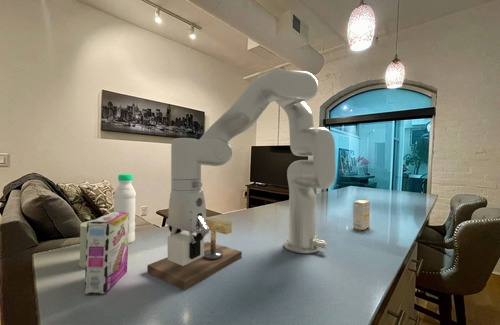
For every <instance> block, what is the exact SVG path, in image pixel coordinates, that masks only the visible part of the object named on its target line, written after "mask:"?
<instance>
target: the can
mask: <svg viewBox="0 0 500 325" xmlns="http://www.w3.org/2000/svg"><path fill="white" fill-rule="evenodd" d="M92 220H93V219H92ZM92 220H88V221H84V222H81V223H80V225H79V228H80V229H79V232H80V234H79V240H80V241H79V262H78V265H79V267H80V268H83V269H85V268H86V242H87V222H89V221H92Z"/></svg>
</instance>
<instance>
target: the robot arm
mask: <svg viewBox="0 0 500 325" xmlns="http://www.w3.org/2000/svg"><path fill="white" fill-rule="evenodd" d="M318 83H319V82H318V80H317V78H316V77H315V75H313V74H312V73H310V72H309V71H303V70H292V69H283V68H282V69H281V68H280V69H278V68H277V69H273V70H270V71H268V72H265V73H264V74H261V76H258V77H256V78H255V79H254V80H253V81H251V83H250V84H248V86H247V87H246V89H244V91H243V92H242V93H241V95H240V96H239V97H238V98H237V99H236V100H235V102H234V103H233V104H232V105H231V106H230V107H229V108H228V109H227V110H226V111H225V112H224V113H223V114H222V115H221V116H220V117H219V118H218V119H217V120H216V121H215V122H213V124H211V125H210V126H209V128H207V130H206V131H205V132H204V133H203V134H202V135H201V137H200V138H199V139H197V138H193V137H192V138H191V137H178V138H173V140H172V141H171V145H170V149H171V150H170V153H171V154H170V155H171V156H170V157H171V158H170V160H171V161H170V169H171V170H170V172H171V173H170V174H171V175H170V177H171V178H170V194H169V200H168V217H167V218H166V220H165V223H166V225H167V228H168V231H169V232H170V236H171V235H174V234H178V233H181V232H183V231H189V234H190V238H191V243H190V259H193V258H196V257H198V256H200V241H201V240H202V239H203V237H204V238H205V237H206V236H207V235H208V234H207V233H208V232H209V233H210V230H209V228H208V226H207V225H206V217H207V208H206V199H205V194H204V191H203V190H202V186H203V182H202V166H210V167H221V166H224V165H226V164H227V163H228V162H230V160H231V159H232V155H233V148H232V146H231V144H230V143H229V142H230V141H231V140H233V138H235V137H237V136H238V135H240V134H243V133H244V132H246V131H247V130H249V129H250V128H252V127H253V126H254V125H255V123H256V122H257V120H259V118H260V117H261V115H262V114H263V113H264V111H265V110H266V109H267V108H268V106H269V105H270V104H271V103H273V102H275V103H276V104H277V105H279V107H280V108H282V109H283V110H284V112H285V113H286V116H287V118H288V127H289V128H288V129H289V147H290V151H291V153H292V154H293V155H294V156H297V157H312V159H300V160H295V161H293V162H292V163H291V164H289V166H288V168H287V171H286V177H287V182H288V183H287V184H288V192H289V193H288V194H289V195H288V196H289V198H288V201H289V203H288V234H287V236H288V238H287V239H285V241H284V242H283V247H284V248H285V249H286V250H288V251H290V252H294V253H299V254H314V253H317V252H319V251H320V248H321V249H325V250H327V248H328V242H326V240H321V239H319V235H318V234H316V224H317V223H316V221H317V220H316V216H317V196H316V193H315V190H314V189H318V190H320V189H321V190H326V189H329V188H331V187H332V186H333V185H334V182H335V180H336V175H337V174H336V173H337V171H336V170H337V168H336V167H337V166H336V144H335V138H334V136H333V133H332V131H331V130H329V129H327V128H326V127H315V126H314V115H313V112H312V110H311V108H310V107H309V106H308V105H307V103H306V101H309V100H312V99H313V98H314V97H315V96H316V95H317V92H318V89H319V84H318ZM200 229H201V230H200ZM194 232H196V234H197V235H196V236H195V234H194ZM206 234H207V235H206Z"/></svg>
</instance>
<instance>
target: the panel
mask: <svg viewBox="0 0 500 325" xmlns="http://www.w3.org/2000/svg"><path fill="white" fill-rule="evenodd" d="M210 242H211V241H204V251H206V250H209V249H210ZM216 249H219V250H221V251H223V257H222V258H221V259H218V260H206V259H204V258H203V257H201V258H199V259H197V260H195V261H193V262H190V263H188V264H186V265H184V266H182V265H179V264H177V263H174V262H172V261H169V260H168V256H167V257H164V258H162V259H160V260H157V261H154V262H152V263H149V264H147V267H146V268H147V269H146V270H147V273H148V274H150V275H152V276H153V277H156V278H158V279H159V280H162V281H164V282H166V283H168V284H170V285H172V286H174V287H177V288H178V289H180V290H182V291H186V290H188V289H190V288H191V287H194V286H195V285H196V284H199V283H200V282H202V281H204V280H206V279H207V278H209V277H211V276H212V275H213V276H214V274H216V273H218V272H221V270H223V269H225V268H227V267H228V266H230V265H232V264H233V263H235V262H237V261H239V260H240V259H242V257H243V256H242V254H243V252H242V250H238V249H233V248H230V247H227V246H224V245H221V244H217V243H216Z"/></svg>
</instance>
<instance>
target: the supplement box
mask: <svg viewBox="0 0 500 325" xmlns="http://www.w3.org/2000/svg"><path fill="white" fill-rule="evenodd" d="M352 207H353V210H352V211H353V212H352V213H353V214H352V217H353V218H352V220H353V222H352V228H355V229H354V230H356V229H359V230H358V231H361V230H364V231H365V229H366V230H368V229H370V223H371V222H370V220H371V219H370V218H371V217H370V216H371V213H370V212H371V210H370V209H371V201H370V200H365V199H364V200H363V199H358V200H354V201H353V206H352ZM367 228H368V229H367Z"/></svg>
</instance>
